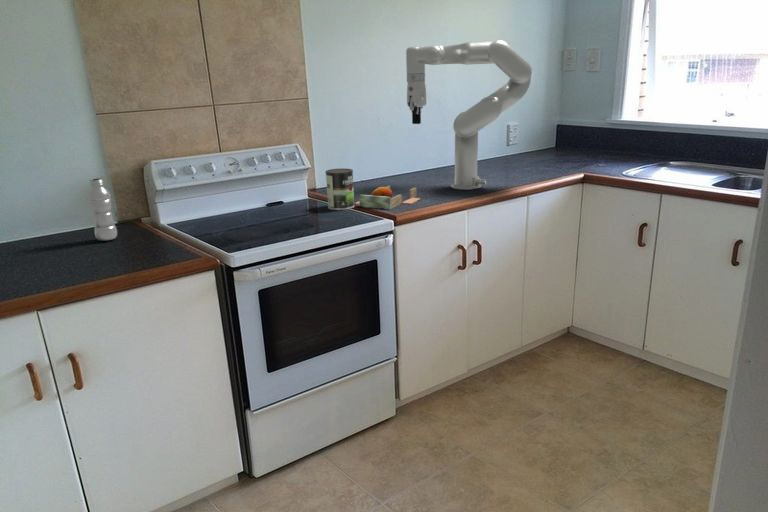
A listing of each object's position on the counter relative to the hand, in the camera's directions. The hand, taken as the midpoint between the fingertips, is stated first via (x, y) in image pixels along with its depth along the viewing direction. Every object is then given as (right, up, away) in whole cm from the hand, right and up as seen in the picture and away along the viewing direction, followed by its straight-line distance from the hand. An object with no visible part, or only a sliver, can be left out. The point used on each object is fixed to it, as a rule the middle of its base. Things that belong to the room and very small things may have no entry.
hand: (416, 123), depth 248 cm
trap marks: (-12, -34, -16) cm, 40 cm away
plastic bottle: (-104, -51, -56) cm, 129 cm away
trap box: (-12, -34, -16) cm, 40 cm away
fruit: (-14, -36, -21) cm, 44 cm away
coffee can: (-30, -37, -23) cm, 53 cm away
